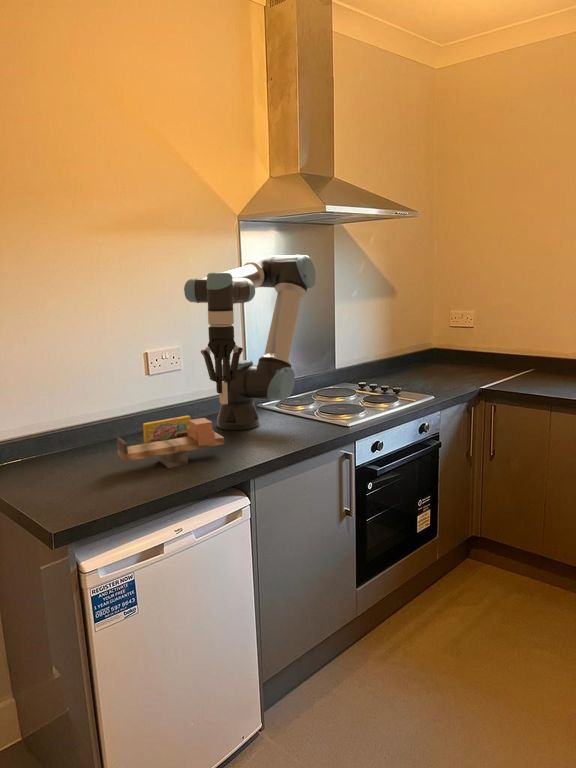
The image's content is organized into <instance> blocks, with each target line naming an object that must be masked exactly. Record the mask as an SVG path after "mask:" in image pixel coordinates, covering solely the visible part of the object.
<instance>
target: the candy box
mask: <svg viewBox="0 0 576 768" xmlns="http://www.w3.org/2000/svg"><path fill="white" fill-rule="evenodd" d="M189 420H192V418H191V416H190V415H187V414H186V415H183V416H178V417H172V418H166V419H160V420H155V421H149V422H144V423H142V429H143V444H147V443H153V442H159V441H165V440H171V439H177V438H183V437H188V430H187V427H189Z"/></svg>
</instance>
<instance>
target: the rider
mask: <svg viewBox="0 0 576 768" xmlns="http://www.w3.org/2000/svg"><path fill="white" fill-rule="evenodd" d="M187 430H188V437H189V436H190V437H192V438H193V439H195V440H196V441H198V446H203V445H209V444H215V433H214V432H215V431H214V430H213V422H212V420H209V419H207V418H205V417H200V418H195V419H191V420H189V427H187Z"/></svg>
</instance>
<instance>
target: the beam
mask: <svg viewBox="0 0 576 768" xmlns="http://www.w3.org/2000/svg"><path fill="white" fill-rule="evenodd" d="M214 433H215V444H209V445H203V446H198V441H196V440H195V439H193V438H192V437H190V436H189V437H183V438H177V439H171V440H165V441H159V442H153V443H147V444H144V443H142V444H135V445H129V446H128V443H127V442H126V441H125V440H124V439H122V438H121V437H117V438H116V444H117V455H118V457H120V458H121V460H122V461H123V462H124V463H125V462H130V461H136V460H142V459H147V458H153V457H158V459H159V462H160V463H162V464H163V465H164V466H165V467H166V468H168V469H170V468H175V467H182V466H186V465H189V461H188V460H189V459H188V451H194V450H197V449H203V448H204V449H205V448H209V447H216V446H221V445H224V444H225V443H226V442H225V437H224V436H223V435H221V434H219V433H217V432H215V431H214Z"/></svg>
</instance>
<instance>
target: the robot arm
mask: <svg viewBox="0 0 576 768" xmlns="http://www.w3.org/2000/svg"><path fill="white" fill-rule="evenodd" d="M316 275H317V274H316V268H315V264H314V261H313V260H312V258H311V257H310V256H309V255H305V254H302V255H301V254H295V255H293V254H292V255H291V254H290V255H289V254H288V255H286V254H285V255H268V256H264V257H261V258H258V259H254V260H251V261H248V262H246V263H244V264H243V266H241V267H238V268H233V269H231V270H227V271H224V272H209V273H207V274H206V277H204V278H197V277H196V278H190V279H188V280H187V281H186V282H185V284H184V288H183V291H184V297H185V299H186V300H187V301H188V302H190V303H196V304H202V303H203V304H204V303H205V304H206V303H207V323H208V325H210V326H208V343H207V347H205V348H204V349H201V350H200V353H201V355H202V357H203V358H204V362H205V366H206V368H207V373H208V377H209V381H213V382H215V384H216V385H215V386H216V393H217V394H218V395H219V397H218V398H219V403H220V408H219V412H218V415H217V419H216V424H217V425H216V426H217V428H219V429H222V430H224V431H225V430H227V431H243V430H250V429H254V428H256V427H258V426H259V425H260V418H259V415H258V412H257V409H256V405H255V402H254V399H255V400H264V401H265V400H266V401H271V402H274V401H279V402H281V401H285V400H287V399H288V398H289V397H290V396H291V394H292V392H293V390H294V387H295V383H296V373H295V371H294V369H293V368H292V363H291V362H290V361H289V357H290V352H291V349H292V343H293V338H294V334H295V330H296V329H295V328H296V323H297V320H298V314H299V310H300V304H301V299H302V298H304V297H305V296H306V295H307V292H308V289H312V288H314V287H315V284H316V279H317V278H316ZM258 288H274V290H275V292H276V293H277V294H276V299H275V304H274V308H273V313H272V317H271V322H270V327H269V331H268V335H267V340H266V341H267V342H266V345H265V348H264V349H265V350H264V354H263V355H262V356H261V357H259V358H258V362H257V365H254V362H253V361H252V360H251V359H243V360H240V357H241V354H242V352H243V347H241V346H238V345H237V344H236V341H235V327H234V325H233V324H235V317H234V315H235V314H234V304H245V303H249V302H250V301H252V300H253V299H254V297H255V295H256V289H258ZM211 353H212V355H213V359H212V357H211ZM231 353H232V354H231ZM231 355H232V357H231ZM213 360H214V363H213ZM230 360H231V361H230Z"/></svg>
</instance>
